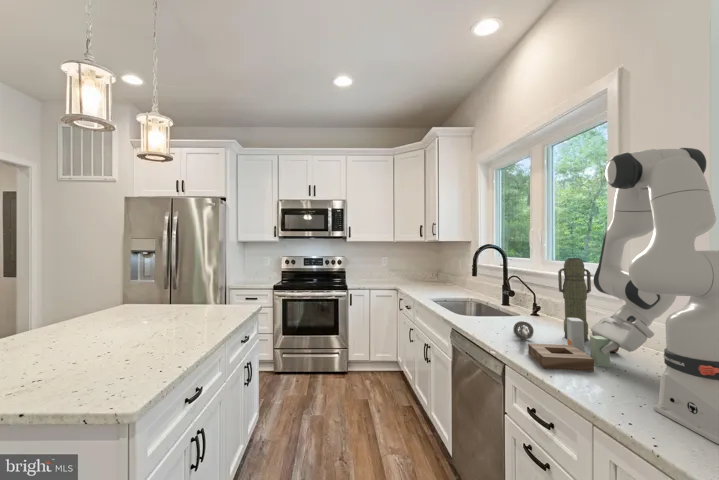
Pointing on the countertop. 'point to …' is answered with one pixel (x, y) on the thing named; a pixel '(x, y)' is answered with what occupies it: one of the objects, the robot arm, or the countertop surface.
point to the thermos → (575, 291)
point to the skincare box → (575, 333)
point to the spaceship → (523, 330)
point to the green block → (596, 354)
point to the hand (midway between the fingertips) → (597, 349)
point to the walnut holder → (560, 357)
